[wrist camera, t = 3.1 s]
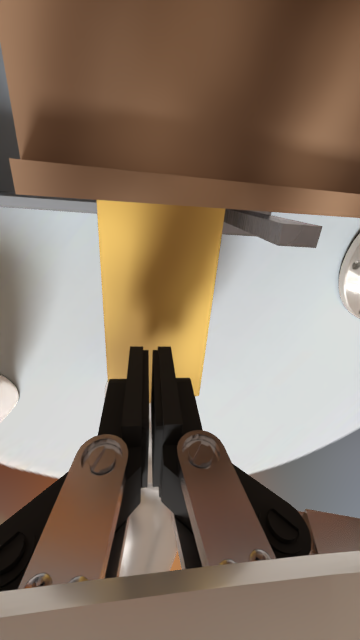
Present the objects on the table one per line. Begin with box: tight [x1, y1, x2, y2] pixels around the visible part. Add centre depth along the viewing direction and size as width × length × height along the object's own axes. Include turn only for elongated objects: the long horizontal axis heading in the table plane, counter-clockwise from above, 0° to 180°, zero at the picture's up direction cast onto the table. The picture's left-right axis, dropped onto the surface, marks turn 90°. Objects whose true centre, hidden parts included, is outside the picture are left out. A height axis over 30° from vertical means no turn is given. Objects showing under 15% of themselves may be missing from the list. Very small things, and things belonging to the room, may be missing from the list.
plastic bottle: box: [105, 381, 178, 577], centre depth 20 cm, size 6×7×20 cm
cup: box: [0, 43, 97, 214], centre depth 13 cm, size 11×11×12 cm
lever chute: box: [0, 0, 360, 403], centre depth 14 cm, size 21×19×6 cm
